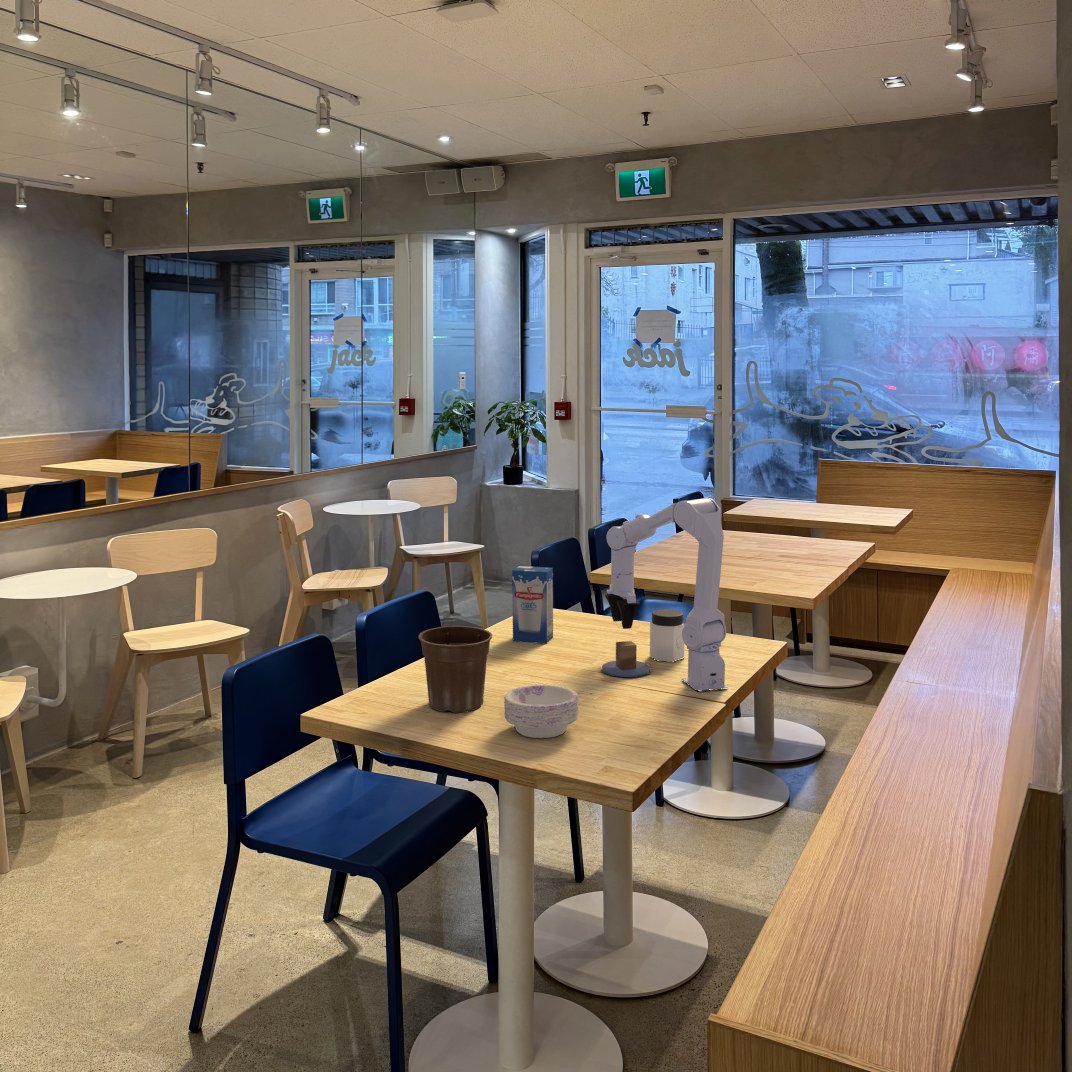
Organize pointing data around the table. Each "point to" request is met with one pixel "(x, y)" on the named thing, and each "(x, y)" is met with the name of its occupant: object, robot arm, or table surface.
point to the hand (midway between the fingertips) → (622, 624)
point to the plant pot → (455, 666)
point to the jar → (666, 635)
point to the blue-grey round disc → (613, 670)
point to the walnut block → (626, 655)
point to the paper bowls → (541, 710)
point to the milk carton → (532, 604)
